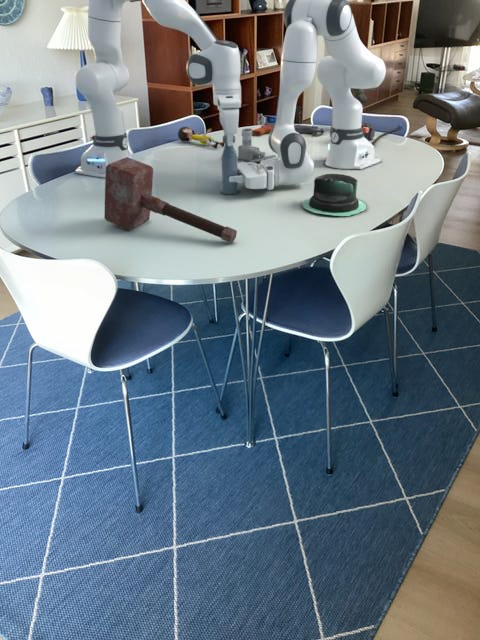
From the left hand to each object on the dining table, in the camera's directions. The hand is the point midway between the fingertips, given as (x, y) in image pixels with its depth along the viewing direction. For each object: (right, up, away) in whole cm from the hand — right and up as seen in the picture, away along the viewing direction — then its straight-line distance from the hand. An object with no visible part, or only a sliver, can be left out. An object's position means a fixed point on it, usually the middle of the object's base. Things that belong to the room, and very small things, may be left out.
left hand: (228, 142), depth 182 cm
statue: (+59, +34, +88) cm, 111 cm away
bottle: (0, -14, +8) cm, 17 cm away
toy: (+55, +20, +65) cm, 87 cm away
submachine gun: (+25, +29, +82) cm, 91 cm away
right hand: (-1, -10, +5) cm, 11 cm away
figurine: (-14, +22, +70) cm, 75 cm away
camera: (+10, +6, +43) cm, 44 cm away
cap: (0, +2, -1) cm, 2 cm away
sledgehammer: (-16, -33, -23) cm, 43 cm away
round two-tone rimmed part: (+33, -22, -6) cm, 41 cm away
